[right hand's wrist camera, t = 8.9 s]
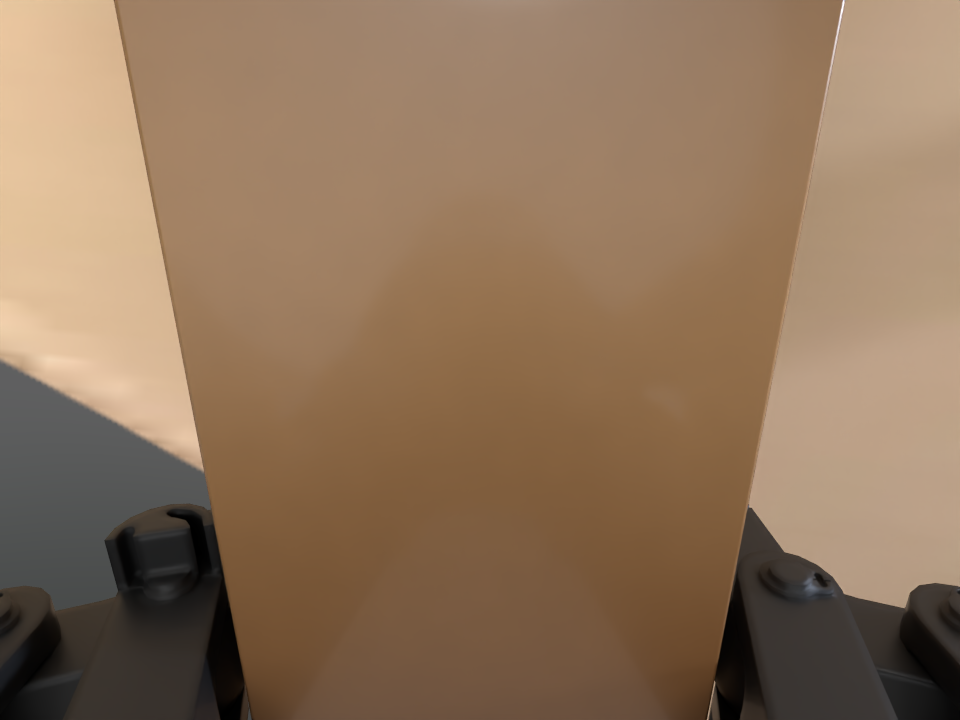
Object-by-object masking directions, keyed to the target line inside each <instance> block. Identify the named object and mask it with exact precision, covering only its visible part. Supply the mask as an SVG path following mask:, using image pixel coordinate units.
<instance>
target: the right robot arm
mask: <svg viewBox="0 0 960 720" xmlns="http://www.w3.org/2000/svg"><path fill="white" fill-rule="evenodd" d="M105 544H106V548H107V552H108V555H109V559H110V563H111V566H112V570H113V574H114V577H115V581H116V584H117V588H118V593H117V595H116V597H114V598H110V599H107V600H103V601H99V602H94V603H90V604H85V605H81V606H76V607H72V608H67V609H63V610H58V611H55V609H54V606H53V603H52V600H51V597H50V595H49V594H48V593H47V592H45V591H44V590H43V589H42V588H37V587H30V586H20V587H13V588H6V589H2V590H0V720H247V719H248V710H249V707H248V700H247V694H246V688H245V682H244V676H243V671H242V666H241V661H240V655H239V650H238V645H237V640H236V635H235V629H234V624H233V619H232V614H231V608H230V603H229V598H228V593H227V588H226V582H225V577H224V572H223V567H222V561H221V556H220V551H219V546H218V541H217V535H216V530H215V525H214V520H213V514H212V509H211V510H206V509H205V508H204V507H201V506H197V505H192V504H171V505H166V506H162V507H158V508H154V509H150V510H147V511H145V512H143V513H140V514H138V515H136V516H133V517H131V518H129V519H128V520H126V521H125V522H123V523H122V524H120V525H119V526H118V527H116V528H115V529H114V530H113V531H112V532H111V533H110V535H109V536H108V537H107V538H106V539H105ZM714 680H715V682H716V683H715V688H714V694H713V699H712V704H711V709H710V714H709V720H960V587H958V586H952V585H945V584H938V583H933V584H926V585H919V586H918V587H917V588H915V589H914V590H913V591H912V592H911V593H910V595H909V598H908V601H907V604H906V607H905V608H900V607H895V606H891V605H886V604H882V603H877V602H873V601H868V600H863V599H859V598H855V597H852V596H848V595H845V594H843V591H842V590H841V588H840V587H839V585H838V584H837V583H836V581H835V580H834V578H833V577H832V576H831V575H829V574H828V573H827V572H825V571H824V570H823V569H822V568H820V567H819V566H818V565H816V564H814V563H812V562H810V561H808V560H806V559H804V558H801V557H799V556H796V555H793V554H789V553H785V552H784V551H783V550H782V548H781V547H780V546H779V544H778V543H777V542H776V540H775V539H774V538H773V536H772V535H771V534H770V532H769V531H768V530H767V528H766V527H765V526H764V524H763V523H762V521H761V520H760V519H759V517H758V516H757V515H756V513H755V512H754V511H753V509H752V508H749V504H748V508H747V513H746V519H745V524H744V529H743V534H742V539H741V544H740V550H739V555H738V560H737V565H736V570H735V576H734V581H733V586H732V591H731V596H730V602H729V607H728V612H727V617H726V622H725V628H724V633H723V638H722V643H721V648H720V653H719V659H718V664H717V669H716V674H715V679H714Z"/></svg>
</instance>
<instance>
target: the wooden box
mask: <svg viewBox="0 0 960 720" xmlns="http://www.w3.org/2000/svg"><path fill="white" fill-rule="evenodd" d="M114 3H115V8H116V13H117V19H118V24H119V29H120V34H121V40H122V45H123V50H124V55H125V60H126V66H127V71H128V76H129V81H130V87H131V92H132V97H133V102H134V107H135V113H136V118H137V123H138V128H139V133H140V139H141V144H142V149H143V154H144V160H145V165H146V170H147V175H148V180H149V186H150V191H151V196H152V201H153V207H154V212H155V217H156V222H157V227H158V233H159V238H160V243H161V248H162V254H163V259H164V264H165V269H166V274H167V280H168V285H169V290H170V295H171V301H172V306H173V311H174V316H175V321H176V327H177V332H178V337H179V342H180V347H181V353H182V358H183V363H184V368H185V374H186V379H187V384H188V389H189V394H190V400H191V405H192V410H193V415H194V421H195V426H196V431H197V436H198V441H199V447H200V452H201V457H202V462H203V468H204V473H205V478H206V483H207V488H208V494H209V499H210V504H211V509H212V514H213V520H214V525H215V530H216V535H217V541H218V546H219V551H220V556H221V561H222V567H223V572H224V577H225V582H226V588H227V593H228V598H229V603H230V608H231V614H232V619H233V624H234V629H235V635H236V640H237V645H238V650H239V655H240V661H241V666H242V671H243V676H244V682H245V687H246V692H247V697H248V702H249V708H250V713H251V718H252V720H707V716H708V711H709V705H710V700H711V695H712V690H713V685H714V679H715V674H716V669H717V664H718V659H719V653H720V648H721V643H722V638H723V633H724V628H725V622H726V617H727V612H728V607H729V602H730V596H731V591H732V586H733V581H734V576H735V570H736V565H737V560H738V555H739V550H740V544H741V539H742V534H743V529H744V524H745V519H746V513H747V508H748V503H749V498H750V493H751V487H752V482H753V477H754V472H755V467H756V461H757V456H758V451H759V446H760V441H761V435H762V430H763V425H764V420H765V415H766V410H767V404H768V399H769V394H770V389H771V384H772V378H773V373H774V368H775V363H776V358H777V352H778V347H779V342H780V337H781V332H782V326H783V321H784V316H785V311H786V306H787V300H788V295H789V290H790V285H791V280H792V275H793V269H794V264H795V259H796V254H797V249H798V243H799V238H800V233H801V228H802V223H803V217H804V212H805V207H806V202H807V197H808V191H809V186H810V181H811V176H812V171H813V166H814V160H815V155H816V150H817V145H818V140H819V134H820V129H821V124H822V119H823V114H824V108H825V103H826V98H827V93H828V88H829V82H830V77H831V72H832V67H833V62H834V57H835V51H836V46H837V41H838V36H839V31H840V25H841V20H842V15H843V10H844V5H845V0H114Z"/></svg>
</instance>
